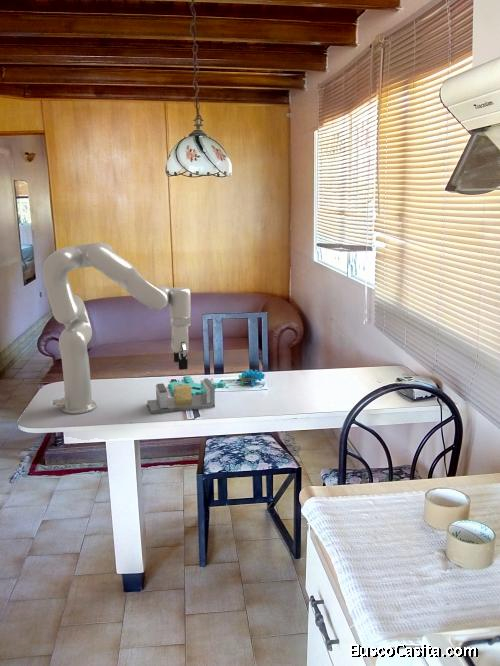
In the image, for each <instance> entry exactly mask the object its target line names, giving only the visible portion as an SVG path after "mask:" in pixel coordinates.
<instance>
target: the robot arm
mask: <svg viewBox="0 0 500 666" xmlns="http://www.w3.org/2000/svg"><path fill="white" fill-rule="evenodd" d="M90 267H93V268H94V269H95V270H97V271H99V272H100V273H101V274H103V275H104V276H106V277H107V278H109V279H111V280H112V281H113V282H115V283H116V284H117V285H119V286H120V287H121V288H122V289H123V290H125V291H126V292H127V293H128V294H129V295H130V296H131V297H133V298H134V299H135V300H137V301H138V302H140V303H141V304H142V305H144V306H146V307H147V308H148V309H151V310H154V311H162V310H164V309H165V308H166V307H167V306H169V325H170V327H171V341H170V342H171V343H170V345H171V346H170V347H171V349H172V351H173V362H174V363H178V370H180V371H182V370H188V364H189V362H188V352H189V327H190V326H191V318H192V316H191V313H192V312H191V305H192V304H191V301H192V300H191V297H192V296H191V295H192V294H191V290H190V288H189V287H183V286H176V287H173V286H171V287H170V286H166V285H165V286H163V285H156V286H155V285H153V284H151V283H150V282H149V281H147V280H146V279H145V278H144V277H143V276H142V275H141V274H140V273H139V271H138V270H137V268H136V267H135V266H134V265H133V264H132V263H130V262H129V261H127V260H126V259H125V258H123V257H121V256H120V255H119V254H117V253H116V252H114V249H113V248H112V246H111V245H110V244H108V243H107V242H104V241H99V242H92V243H86V244H85V243H84V244H77V245H76V244H75V245H70V246H69V245H68V246H65V247H63V248H59V249H57V250H55V251H54V252H52V253H51V254H50V255H49V256H48V257H47V258H46V259H45V260H44V262H43V265H42V270H41V275H42V280H43V284H44V287H45V290H46V294H47V297H48V301H49V304H50V308H51V310H52V315H53V317H54V319H55V320H56V321H57V322H58V324H63V325H64V327H65V328H64V329H63V330H62V331H61V333H60V335H59V338H58V347H59V348H58V349H59V351H60V357H61V365H62V366H61V367H62V374H63V375H62V376H63V386H64V387H63V388H64V396H63V397H62V398H61V399H60V398H59V399H57V398H56V399H52V405H53V406H56V407H60V406H61V410H62V412H63V413H66V414H71V415H76V414H85V413H88V412H91V411H93V410H95V409H96V408H97V401H95V400H93V399H92V398H93V397H92V382H91V370H90V369H91V368H90V359H89V353H88V347H87V345H88V344H89V342H91V339H92V337H93V331H92V330H93V329H92V326H91V323H90V322H91V321H90V319H89V314H88V311H87V309H86V306H85V305H86V304H85V303H84V301H83V299H82V298H80V296H78V295H76V294H74V293H73V288H72V285H71V283H70V281H69V278H68V273H70V272H72V271H74V270H76V269H82V268H90Z"/></svg>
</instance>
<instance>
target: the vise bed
mask: <svg viewBox="0 0 500 666" xmlns="http://www.w3.org/2000/svg"><path fill="white" fill-rule="evenodd" d="M212 383H213V382H211V380H210V379H209V378H208V377H207V378H203V380H200V384H201V395H193V396H192V403H183V404H176V403H175V401H174V397H168V407H169V408H161V409H160V406H159V404H158V402H157V400H156V399H149V400H147V401H146V405H147V408H148V410H149V412H150V415H151V414H152V415H159V414H167V413H174V412H175V413H176V412H183V411H184V412H185V411H191V410H192V409H194V410H200V409H209V408H215V407H216V404H215V403H216V402H215V401H216V400H215V398H216V396H215V393H216V388H215V387H214V386H213V384H212ZM192 411H193V410H192Z"/></svg>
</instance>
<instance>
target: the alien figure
mask: <svg viewBox="0 0 500 666" xmlns="http://www.w3.org/2000/svg"><path fill="white" fill-rule="evenodd" d="M182 379H183V382H181V381H175V380H174V381H172V382H170V383H168V384H167V389H169V392H170V394H171V396H172V397H174V386H177V385H187V384H189V385H190V386H191V395H192V396H193V395H201V383H197V382H194V380H193V379H192V378H191V376H190V375H184V376H183V378H182ZM211 383H212V384H213V386H214V387H215V389H218V388H225V387H226V386H227V385H226V384H227V382H226V381H220V382H216V381H215V382H214V381H213V382H211Z"/></svg>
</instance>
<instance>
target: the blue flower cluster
mask: <svg viewBox="0 0 500 666" xmlns="http://www.w3.org/2000/svg"><path fill="white" fill-rule="evenodd" d="M265 377H266V374H265V373H263V371H262V370H259V371H258V369H254V370H253V369H248V370H244V371H243V372H241V374H238V379H239V380H240V381H241V386H242V385H243V386H244V382H247V381H248V382H250V381H251V387H252V386H254V387H255V382H254V381H257V382H258V381H259V382H261V381H262V380H264V379H265Z"/></svg>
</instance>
